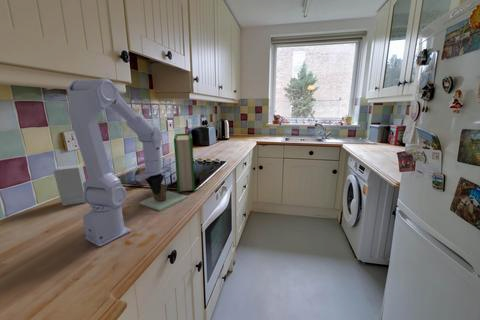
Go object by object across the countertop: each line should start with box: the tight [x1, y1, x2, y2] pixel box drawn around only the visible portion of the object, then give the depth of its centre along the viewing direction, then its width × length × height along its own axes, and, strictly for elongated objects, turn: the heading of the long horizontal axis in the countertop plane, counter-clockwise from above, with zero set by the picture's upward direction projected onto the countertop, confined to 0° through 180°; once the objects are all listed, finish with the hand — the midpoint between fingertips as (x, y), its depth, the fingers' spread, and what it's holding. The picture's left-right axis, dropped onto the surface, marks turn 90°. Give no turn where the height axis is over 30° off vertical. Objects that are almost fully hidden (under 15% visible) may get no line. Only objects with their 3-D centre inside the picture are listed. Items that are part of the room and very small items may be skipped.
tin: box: [133, 165, 149, 187], centre depth 114 cm, size 15×3×8 cm, turn 168°
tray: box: [139, 190, 189, 212], centre depth 92 cm, size 14×12×1 cm
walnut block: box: [153, 183, 168, 201], centre depth 90 cm, size 2×4×6 cm, turn 59°
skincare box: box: [53, 163, 87, 207], centre depth 90 cm, size 8×6×15 cm
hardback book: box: [173, 133, 196, 194], centre depth 106 cm, size 18×7×24 cm, turn 13°
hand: (156, 193), depth 88 cm, fingers closed
